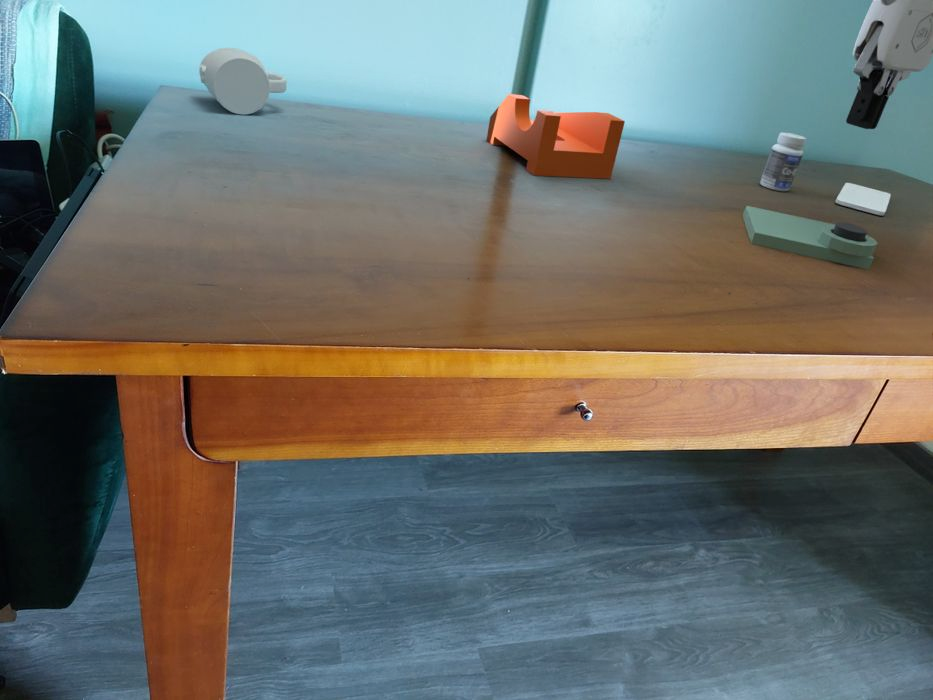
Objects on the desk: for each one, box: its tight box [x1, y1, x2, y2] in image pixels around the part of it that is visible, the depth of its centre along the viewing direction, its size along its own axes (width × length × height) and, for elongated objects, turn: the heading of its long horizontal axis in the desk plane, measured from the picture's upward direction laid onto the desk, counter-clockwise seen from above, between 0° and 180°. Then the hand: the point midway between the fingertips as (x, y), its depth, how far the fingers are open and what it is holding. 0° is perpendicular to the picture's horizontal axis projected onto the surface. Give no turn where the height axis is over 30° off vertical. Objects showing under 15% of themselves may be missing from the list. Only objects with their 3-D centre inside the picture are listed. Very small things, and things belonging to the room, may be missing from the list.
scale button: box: [832, 221, 868, 242], centre depth 89 cm, size 4×4×1 cm
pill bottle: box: [759, 131, 807, 192], centre depth 116 cm, size 5×5×8 cm
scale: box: [742, 205, 878, 270], centre depth 93 cm, size 14×13×3 cm
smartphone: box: [835, 182, 892, 216], centre depth 118 cm, size 7×1×15 cm
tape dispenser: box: [486, 93, 626, 180], centre depth 110 cm, size 18×13×8 cm
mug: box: [198, 47, 287, 116], centre depth 110 cm, size 12×9×8 cm
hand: (860, 125), depth 91 cm, fingers closed
